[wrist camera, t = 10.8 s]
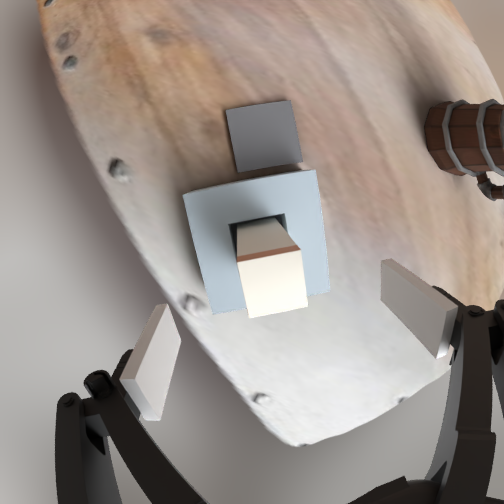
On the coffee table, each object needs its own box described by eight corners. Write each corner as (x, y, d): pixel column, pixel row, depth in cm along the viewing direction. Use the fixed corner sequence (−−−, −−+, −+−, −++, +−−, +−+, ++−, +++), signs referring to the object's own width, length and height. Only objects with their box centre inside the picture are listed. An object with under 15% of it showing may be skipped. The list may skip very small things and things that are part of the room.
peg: (237, 223, 32) (236, 262, 19) (274, 216, 32) (301, 249, 19) (244, 259, 33) (249, 318, 20) (280, 252, 33) (308, 306, 20)
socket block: (191, 190, 33) (182, 194, 27) (302, 169, 33) (315, 169, 27) (216, 293, 37) (212, 314, 31) (316, 273, 37) (330, 291, 31)
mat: (225, 111, 31) (225, 110, 30) (289, 102, 31) (290, 100, 30) (237, 172, 33) (237, 172, 32) (301, 162, 33) (302, 161, 32)
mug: (412, 115, 31) (484, 101, 17) (455, 97, 30) (519, 86, 16) (446, 208, 35) (514, 229, 21) (484, 180, 34) (545, 192, 20)
